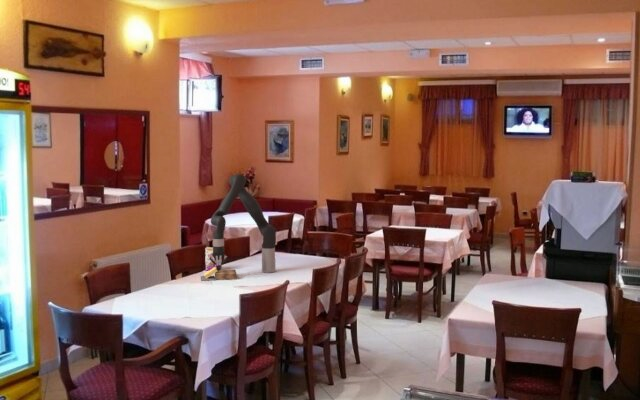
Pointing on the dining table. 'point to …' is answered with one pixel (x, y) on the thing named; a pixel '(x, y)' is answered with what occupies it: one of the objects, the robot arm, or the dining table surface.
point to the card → (210, 272)
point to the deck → (225, 275)
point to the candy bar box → (208, 262)
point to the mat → (207, 278)
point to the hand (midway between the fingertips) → (218, 270)
